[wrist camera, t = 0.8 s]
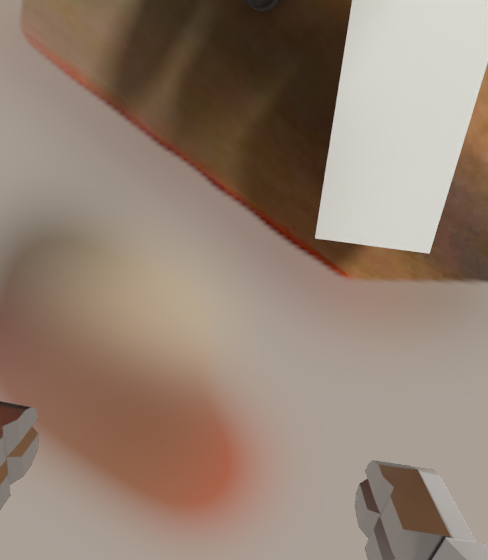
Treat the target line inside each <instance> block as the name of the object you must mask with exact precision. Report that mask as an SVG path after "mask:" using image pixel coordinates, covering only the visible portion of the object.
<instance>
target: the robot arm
mask: <svg viewBox="0 0 488 560" xmlns="http://www.w3.org/2000/svg"><path fill="white" fill-rule="evenodd" d="M36 421H37V412H36V409H35V408H32V407H28V406H23V405H17V404H12V403H6V402H1V401H0V510H1V508H2V507H3V505H4V504H5V502H6V501H7V500H8V498H9V497H10V485H11V484H12V483H14V482H15V481H17V480H19V479H20V478H22V477H23V476H24V475H25V474H26V472H27V471H28V469H29V468H30V466H31V465H32V462H33V460H34V457H35V455H36V453H37V450H38V443H39V434H38V432H37V431H36V430H35V429H34V428H33V427H32V426H33V425H34V423H35V422H36ZM365 472H366V474H367V478H368V479H366V480H365V481H363V482H361V483H360V484H359V487H358V489H357V492H356V501H355V509H356V516H357V521H358V525H359V527H360V529H361V530H362V531H363V532H364V534H365V535H366V536H367V537H368V541H367V544H366V546H365V550H366V555H367V558H368V560H488V547H487V546H486V545H485V544H484V543H480V542H476V540H475V538H474V536H473V535H472V533H471V531H470V529H469V527H468V526H467V524H466V522H465V520H464V518H463V517H462V515H461V513H460V511H459V509H458V508H457V506H456V504H455V502H454V500H453V499H452V497H451V495H450V493H449V492H448V490H447V488H446V486H445V484H444V482H443V481H442V479H441V477H440V476H439V474H438V473H437V472H436V471H435V470H433V469H426V468H419V467H411V466H407V465H401V464H393V463H387V462H380V461H372V462H370V463H369V464H368V466H367V468H366V470H365Z"/></svg>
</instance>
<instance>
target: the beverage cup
mask: <svg viewBox="0 0 488 560" xmlns="http://www.w3.org/2000/svg"><path fill="white" fill-rule="evenodd" d="M243 1H244V2H245V3H246V4H247V5H249V6H250V7H251V8H253V9H254V10H256V11H261V12H263V11H268V10H270V9H272V8H273V7H274V6H275V5H276V4H277V3H278V2H279V0H243Z"/></svg>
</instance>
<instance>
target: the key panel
mask: <svg viewBox="0 0 488 560" xmlns="http://www.w3.org/2000/svg"><path fill="white" fill-rule="evenodd" d="M487 63H488V0H352V5H351V11H350V17H349V24H348V30H347V37H346V43H345V49H344V56H343V62H342V68H341V75H340V81H339V88H338V94H337V100H336V107H335V113H334V119H333V126H332V132H331V138H330V145H329V151H328V158H327V164H326V170H325V177H324V183H323V189H322V196H321V202H320V209H319V215H318V221H317V228H316V234H315V238H316V239H324V240H331V241H339V242H346V243H354V244H361V245H369V246H376V247H384V248H392V249H399V250H407V251H414V252H422V253H430V250H431V247H432V243H433V240H434V237H435V234H436V230H437V227H438V224H439V220H440V217H441V214H442V211H443V207H444V204H445V201H446V198H447V194H448V191H449V188H450V184H451V181H452V178H453V175H454V171H455V168H456V165H457V161H458V158H459V155H460V152H461V148H462V145H463V142H464V138H465V135H466V132H467V129H468V125H469V122H470V119H471V116H472V112H473V109H474V106H475V102H476V99H477V96H478V93H479V89H480V86H481V83H482V79H483V76H484V73H485V70H486V66H487Z"/></svg>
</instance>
